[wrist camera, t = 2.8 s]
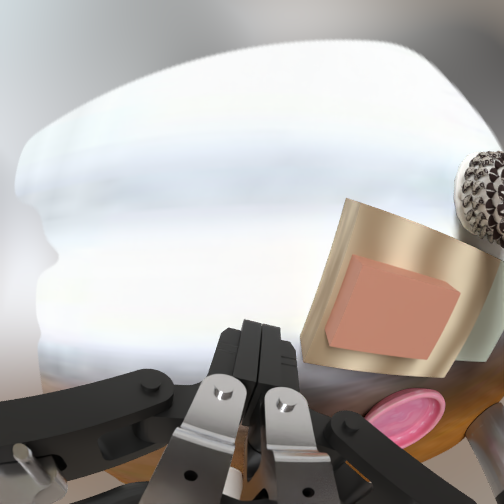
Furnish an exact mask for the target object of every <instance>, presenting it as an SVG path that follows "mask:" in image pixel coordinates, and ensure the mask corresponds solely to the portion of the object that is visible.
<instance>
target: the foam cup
mask: <svg viewBox="0 0 504 504" xmlns="http://www.w3.org/2000/svg"><path fill="white" fill-rule="evenodd" d="M242 489H243V480H242V473H241V472H240V471H239V470H237V469H235V468H233V467H230V468H229V471H228V475H227V479H226V482H225V486H224V489H223V493H222V494H225V495H227V496H230V497H233V498H235V499H238V500H240V496H241V492H242Z"/></svg>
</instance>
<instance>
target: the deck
mask: <svg viewBox="0 0 504 504" xmlns="http://www.w3.org/2000/svg"><path fill="white" fill-rule="evenodd" d="M352 254H354V255H358V256H361V257H365V258H368V259H372V260H375V261H379V262H382V263H386V264H389V265H392V266H396V267H399V268H403V269H406V270H409V271H413V272H416V273H419V274H423V275H426V276H429V277H432V278H436V279H439V280H442V281H445V282H447V283H448V284H450V285H451V286H452V287H454V288H455V289H456V290H458V291H459V292H460V293H461V294H460V296H459V299H458V301H457V303H456V306H455V308H454V310H453V312H452V314H451V316H450V318H449V320H448V322H447V324H446V326H445V328H444V330H443V332H442V334H441V336H440V338H439V340H438V342H437V343H436V345H435V347H434V349H433V351H432V352H431V354H430V356H429V358H428V359H427V360H423V359H413V358H405V357H396V356H389V355H381V354H374V353H367V352H361V351H355V350H349V349H343V348H337V347H331V346H329V342H328V339H327V335H326V332H325V326H326V324H327V321H328V319H329V316H330V314H331V311H332V309H333V306H334V304H335V301H336V298H337V296H338V293H339V291H340V288H341V285H342V282H343V280H344V277H345V274H346V271H347V268H348V266H349V263H350V260H351V257H352ZM500 262H501V260H500V259H498V258H496V257H494V256H492V255H490V254H488V253H486V252H484V251H481V250H479V249H477V248H475V247H473V246H471V245H468V244H466V243H464V242H462V241H459V240H457V239H455V238H453V237H450V236H448V235H446V234H443V233H441V232H438V231H436V230H433V229H431V228H429V227H426V226H424V225H421V224H418V223H416V222H413V221H411V220H408V219H405V218H403V217H400V216H397V215H395V214H392V213H389V212H386V211H383V210H381V209H378V208H375V207H372V206H369V205H366V204H363V203H360V202H357V201H354V200H351V199H348V198H346V200H345V204H344V207H343V211H342V214H341V218H340V221H339V224H338V228H337V231H336V234H335V238H334V241H333V244H332V247H331V250H330V253H329V257H328V260H327V263H326V266H325V269H324V272H323V275H322V278H321V281H320V283H319V286H318V289H317V292H316V295H315V298H314V300H313V303H312V306H311V309H310V311H309V314H308V317H307V319H306V322H305V325H304V327H303V330H302V332H301V335H300V340H301V347H302V355H303V362H305V363H310V364H316V365H322V366H328V367H335V368H341V369H348V370H356V371H364V372H372V373H382V374H392V375H404V376H419V377H442V378H444V377H445V375H446V374H447V372H448V371H449V369H450V367H451V366H452V364H453V362H454V361H455V359H456V358H457V356H458V354H459V352H460V351H461V349H462V347H463V345H464V344H465V342H466V340H467V338H468V336H469V334H470V332H471V330H472V329H473V327H474V325H475V323H476V320H477V318H478V316H479V314H480V312H481V310H482V308H483V305H484V303H485V301H486V299H487V296H488V294H489V291H490V289H491V286H492V284H493V281H494V279H495V276H496V273H497V270H498V268H499V265H500Z"/></svg>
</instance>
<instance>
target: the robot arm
mask: <svg viewBox="0 0 504 504" xmlns="http://www.w3.org/2000/svg"><path fill="white" fill-rule="evenodd" d="M242 418H243V419H242ZM241 420H242V425H244V426H249V431H248V435H247V438H246V440H245V443H244V474H243V489H242V492H241V496H240V500H238V499H235V498H233V497H230V496H227V495H225V494H222V493H223V489H224V486H225V482H226V479H227V475H228V471H229V468H230V464H231V460H232V456H233V453H234V448H235V444H234V442H235V438H236V434H237V430H238V427H239V425H240V423H241ZM465 435H466V438H467V439H468V441H469V443H470V445H471V447H472V449H473V451H474V453H475V455H476V457H477V459H478V461H479V463H480V465H481V467H482V469H483V472H484V474H485V476H486V478H487V480H488V483H489V485H490V487H491V489H492V492H493V494H494V497H495V499H496V501H497V504H504V406H503V404H502V403H496V404H494V405H493V406H491V407H489V408H488V409H487V410H485V411H484V412H483V413H482V414H481V415H480V416H479V417H478V418H477V419H475V421H474V422H473V423H472V424H471V425H470V426H469V428H468V429H467V431H466V434H465ZM167 444H168V445H167ZM165 445H167V447H166V449H165V451H164V453H163V455H162V457H161V459H160V461H159V463H158V465H157V467H156V469H155V471H154V473H153V475H152V477H151V479H150V481H146V482H135V483H129V484H125V485H122V486H119V487H116V488H114V489H111V490H109V491H106V492H103V493H101V494H98V495H95V496H93V497H90V498H86V499H84V500H80V501H77V502H74V503H71V504H477V503H476V502H475V501H474V500H473V499H471V498H470V497H468V496H467V495H465V494H464V493H462V492H461V491H459V490H458V489H456V488H455V487H453V486H452V485H451V484H449V483H448V482H446V481H445V480H443V479H442V478H441V477H439V476H438V475H436V474H435V473H434V472H432V471H431V470H430V469H428V468H427V467H426V466H424V465H423V464H422V463H420V462H419V461H418V460H416V459H415V458H414V457H412V456H411V455H410V454H408V453H407V452H406V451H405V450H403V449H402V448H401V447H399V446H398V445H397V444H396V443H394V442H393V441H392V440H391V439H389V438H388V437H387V436H386V435H384V434H383V433H382V432H381V431H379V430H378V429H377V428H376V427H374V426H373V425H372V424H371V423H370V422H368V421H367V420H366V419H365V418H364V417H362V416H361V415H359V414H358V413H355V412H352V411H339V412H337V413H335V414H334V415H333V416H332V417H329V416H326V415H323V414H320V413H318V412H315V411H313V410H312V409H310V408H309V407H308V404H307V401H306V399H305V398H304V396H302V395H301V394H300V392H299V381H298V370H297V361H296V350H295V349H294V347H293V346H292V344H291V343H290V342H288V341H283V340H281V334H280V327H275V326H271V325H267V324H262V326H261V323H258V322H254V321H250V320H246V319H244V321H243V325H242V328H241V331H240V330H236V329H232V328H227V329H226V330H225V331H223V332H222V333H221V335H220V338H219V342H218V345H217V348H216V351H215V354H214V357H213V360H212V363H211V366H210V369H209V373H208V375H207V377H206V378H205V379H204V380H203V381H201V382H200V383H197V384H194V385H174V384H173V382H172V380H171V379H170V378H169V377H168V376H167V375H166V374H164V373H162V372H160V371H158V370H154V369H141V370H137V371H134V372H130V373H127V374H123V375H120V376H116V377H113V378H109V379H105V380H102V381H98V382H94V383H90V384H86V385H82V386H78V387H74V388H70V389H65V390H61V391H56V392H51V393H47V394H42V395H37V396H32V397H26V398H20V399H14V400H8V401H1V402H0V504H52V503H54V502H56V501H58V500H60V499H62V498H63V497H64V496H65V494H66V493H67V488H68V485H67V481H70V480H74V479H77V478H81V477H84V476H88V475H91V474H94V473H97V472H100V471H104V470H106V469H109V468H112V467H115V466H118V465H121V464H123V463H126V462H129V461H131V460H134V459H136V458H139V457H141V456H144V455H146V454H148V453H151V452H153V451H155V450H158V449H160V448H162V447H164V446H165ZM346 460H347V461H348V462H349V463H350V464H351V465H352V466H354V467H355V468H356V469H357V470H358V471H359V472H360V473H362V474H363V475H364V476H365V477H366V478H367V479H369V480H370V481H371V482H372V483H369V482H367V481H366V480H364V479H363V478H362V477H361V476H360V475H359V474H357V473H356V472H355V471H354V470H353V469H352V468H351V467H349V466H348V465H347V464H346V463H345V461H346Z"/></svg>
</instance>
